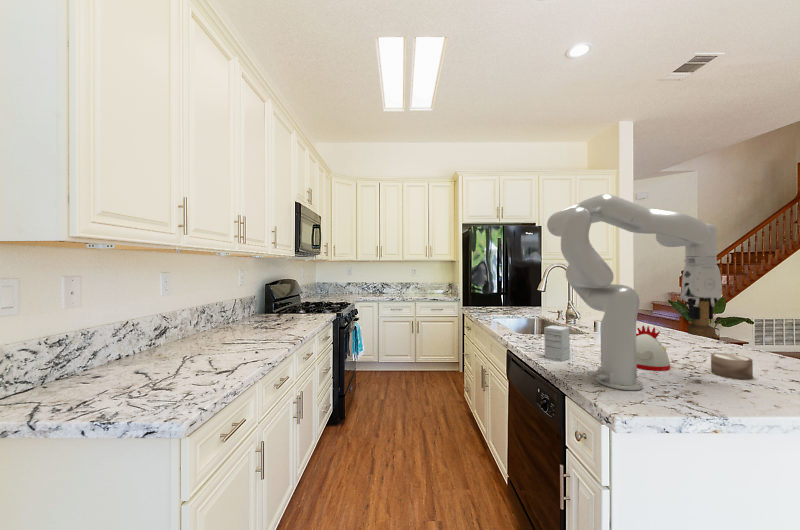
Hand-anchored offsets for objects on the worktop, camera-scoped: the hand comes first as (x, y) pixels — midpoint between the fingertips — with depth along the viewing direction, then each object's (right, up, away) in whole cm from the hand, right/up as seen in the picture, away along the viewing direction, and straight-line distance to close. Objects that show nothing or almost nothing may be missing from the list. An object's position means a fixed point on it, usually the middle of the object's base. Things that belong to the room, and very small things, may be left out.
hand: (700, 318), depth 106 cm
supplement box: (-33, -21, +28) cm, 48 cm away
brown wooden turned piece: (0, -5, 0) cm, 5 cm away
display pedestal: (+16, -20, +6) cm, 26 cm away
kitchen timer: (-4, -21, +17) cm, 28 cm away
